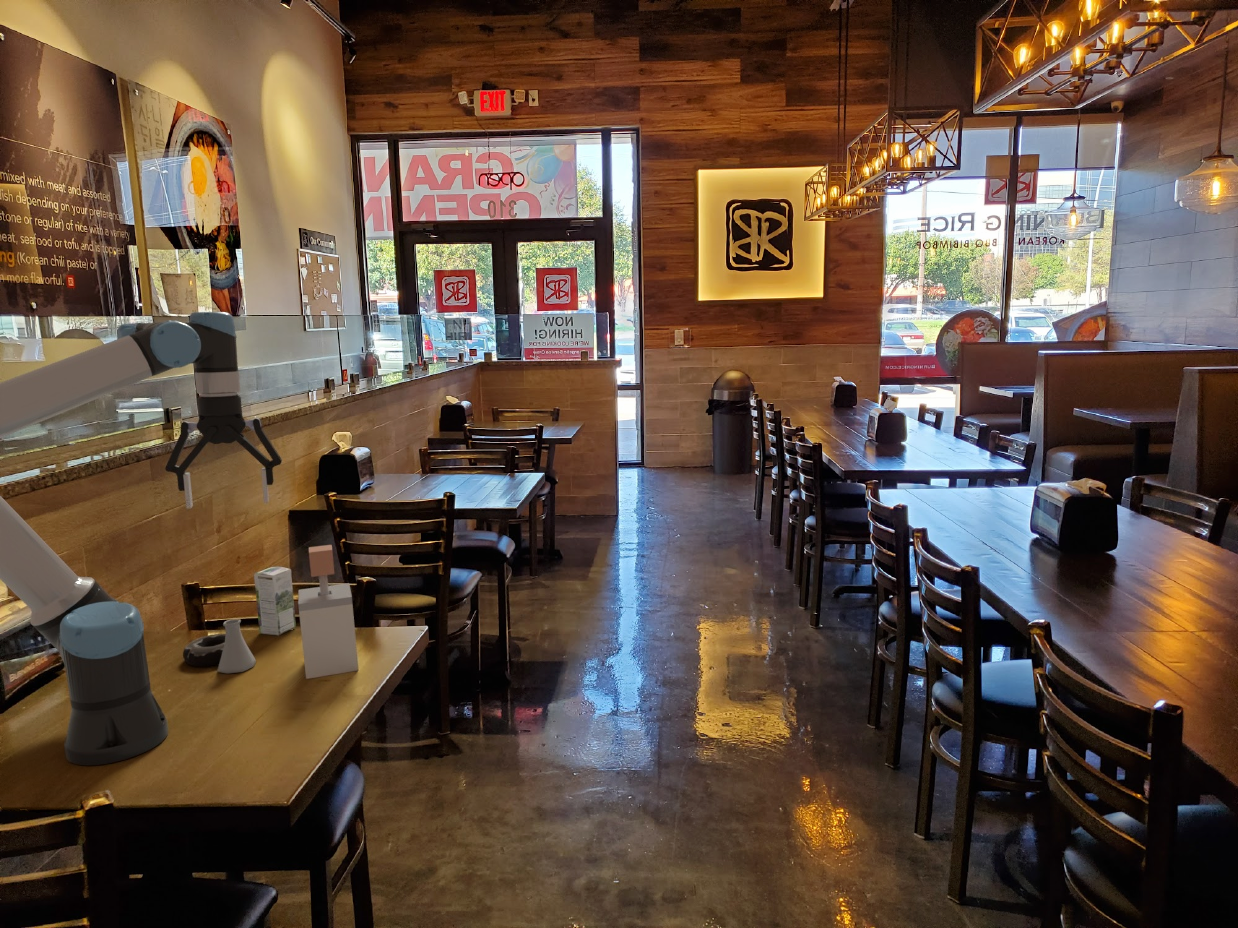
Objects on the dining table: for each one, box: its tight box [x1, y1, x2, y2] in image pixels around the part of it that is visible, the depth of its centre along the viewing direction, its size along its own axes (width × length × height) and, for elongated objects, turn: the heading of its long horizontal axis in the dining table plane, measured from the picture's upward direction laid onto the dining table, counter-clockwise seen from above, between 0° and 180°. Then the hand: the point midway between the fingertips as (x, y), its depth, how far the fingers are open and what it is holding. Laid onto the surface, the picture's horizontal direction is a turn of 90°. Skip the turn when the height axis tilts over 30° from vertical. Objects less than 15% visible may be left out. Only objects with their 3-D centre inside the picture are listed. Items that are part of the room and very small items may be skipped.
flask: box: [217, 618, 257, 674], centre depth 176 cm, size 7×7×10 cm
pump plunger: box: [308, 544, 336, 596], centre depth 173 cm, size 4×4×20 cm
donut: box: [182, 633, 226, 667], centre depth 182 cm, size 12×12×4 cm
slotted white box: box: [297, 582, 359, 680], centre depth 174 cm, size 10×10×16 cm
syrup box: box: [253, 566, 297, 636], centre depth 196 cm, size 6×6×14 cm
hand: (228, 504), depth 165 cm, fingers open, 13 cm apart
